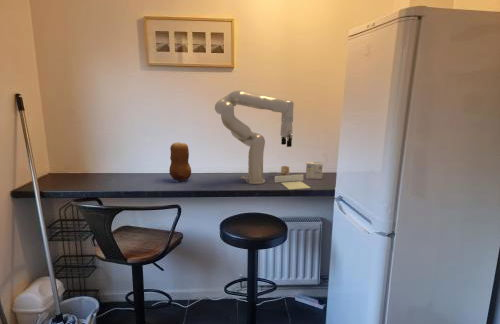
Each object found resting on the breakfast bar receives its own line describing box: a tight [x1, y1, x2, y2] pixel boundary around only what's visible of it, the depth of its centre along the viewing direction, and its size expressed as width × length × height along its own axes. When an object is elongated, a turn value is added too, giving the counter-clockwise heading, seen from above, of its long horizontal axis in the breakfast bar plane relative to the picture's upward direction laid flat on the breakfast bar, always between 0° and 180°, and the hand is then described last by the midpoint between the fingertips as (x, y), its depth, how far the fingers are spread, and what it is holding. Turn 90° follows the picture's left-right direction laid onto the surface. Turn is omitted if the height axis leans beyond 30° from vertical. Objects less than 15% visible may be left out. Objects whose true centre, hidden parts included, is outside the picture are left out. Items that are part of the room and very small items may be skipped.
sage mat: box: [280, 181, 311, 191], centre depth 194 cm, size 14×14×1 cm
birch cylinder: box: [280, 165, 290, 176], centre depth 210 cm, size 6×6×8 cm
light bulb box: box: [305, 161, 323, 180], centre depth 212 cm, size 11×7×11 cm, turn 84°
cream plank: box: [274, 174, 304, 183], centre depth 204 cm, size 20×1×4 cm, turn 105°
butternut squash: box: [168, 142, 192, 182], centre depth 200 cm, size 14×13×25 cm
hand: (286, 145), depth 206 cm, fingers open, 9 cm apart
